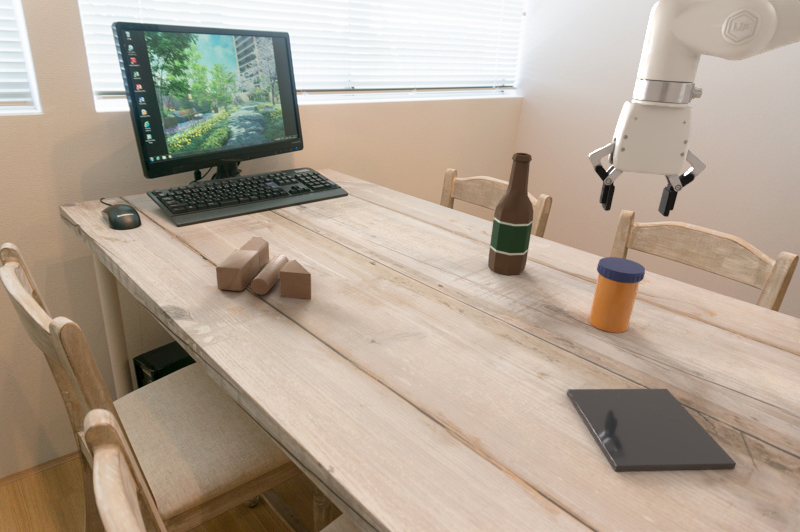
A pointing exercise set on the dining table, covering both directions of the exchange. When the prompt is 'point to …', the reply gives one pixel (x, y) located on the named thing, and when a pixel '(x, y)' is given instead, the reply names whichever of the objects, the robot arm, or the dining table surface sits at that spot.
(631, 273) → the jar lid
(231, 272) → the wooden block set
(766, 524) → the dining table surface
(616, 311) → the honey jar
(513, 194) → the beer bottle
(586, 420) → the slate coaster
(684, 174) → the robot arm
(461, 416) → the dining table surface
